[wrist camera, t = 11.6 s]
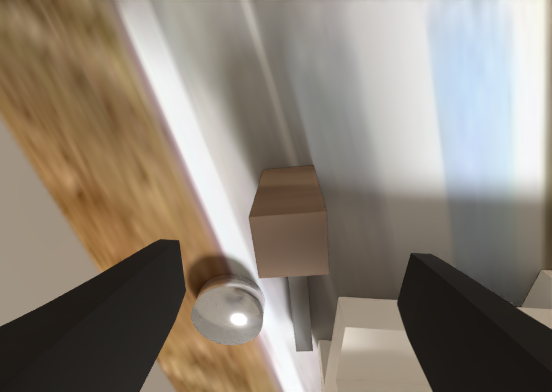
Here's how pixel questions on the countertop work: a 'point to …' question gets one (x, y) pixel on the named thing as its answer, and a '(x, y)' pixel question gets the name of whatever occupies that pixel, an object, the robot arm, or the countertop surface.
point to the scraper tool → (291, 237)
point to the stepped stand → (391, 344)
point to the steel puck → (229, 310)
